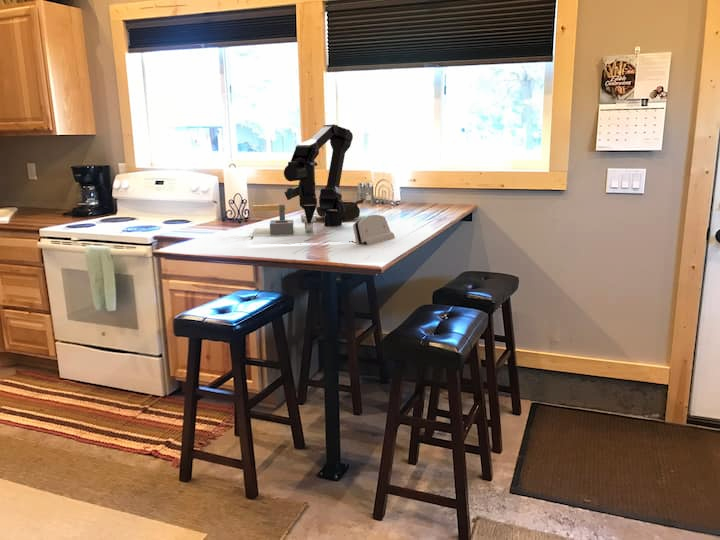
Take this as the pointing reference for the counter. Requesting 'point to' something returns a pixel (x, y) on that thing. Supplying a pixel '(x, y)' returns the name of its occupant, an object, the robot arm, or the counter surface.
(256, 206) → the bar
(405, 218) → the counter surface
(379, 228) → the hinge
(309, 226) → the pin
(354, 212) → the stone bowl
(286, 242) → the counter surface
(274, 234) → the block
